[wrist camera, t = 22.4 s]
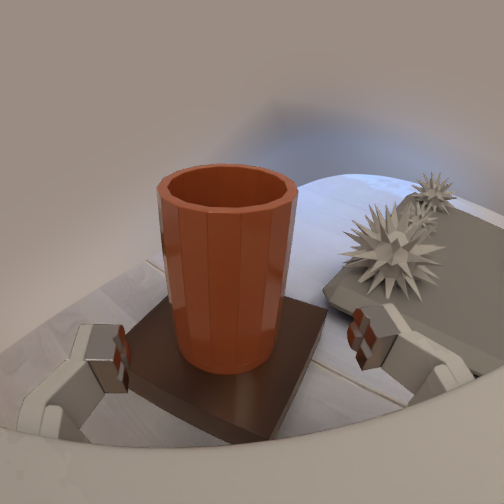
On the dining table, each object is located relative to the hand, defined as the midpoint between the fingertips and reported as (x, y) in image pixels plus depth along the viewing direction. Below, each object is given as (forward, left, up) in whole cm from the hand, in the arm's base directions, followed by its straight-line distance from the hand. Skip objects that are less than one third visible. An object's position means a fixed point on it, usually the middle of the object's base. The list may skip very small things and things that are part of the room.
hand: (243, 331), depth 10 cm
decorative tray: (+16, +27, -10) cm, 33 cm away
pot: (-4, +5, -7) cm, 10 cm away
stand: (-4, +5, -10) cm, 12 cm away
